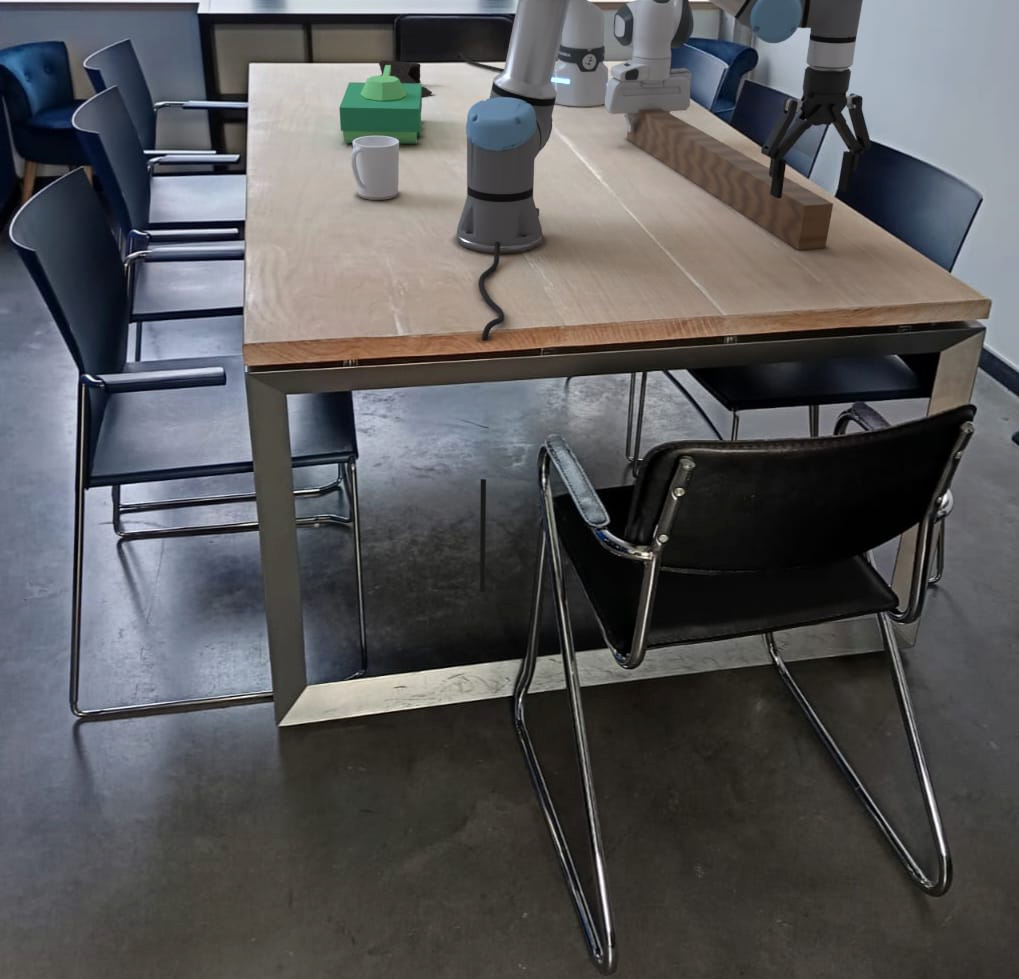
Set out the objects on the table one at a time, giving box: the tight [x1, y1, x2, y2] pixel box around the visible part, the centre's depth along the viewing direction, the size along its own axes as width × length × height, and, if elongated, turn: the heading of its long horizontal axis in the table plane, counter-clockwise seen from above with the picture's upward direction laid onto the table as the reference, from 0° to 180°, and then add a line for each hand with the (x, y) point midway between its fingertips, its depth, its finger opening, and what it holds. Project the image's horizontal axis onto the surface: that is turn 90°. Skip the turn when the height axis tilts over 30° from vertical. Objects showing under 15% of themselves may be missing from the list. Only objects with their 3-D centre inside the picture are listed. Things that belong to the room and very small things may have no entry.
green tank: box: [339, 65, 423, 145], centre depth 261 cm, size 18×12×35 cm
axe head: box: [378, 59, 433, 97], centre depth 299 cm, size 18×8×15 cm
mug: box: [350, 136, 400, 201], centre depth 214 cm, size 11×9×10 cm
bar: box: [626, 109, 834, 251], centre depth 226 cm, size 81×6×8 cm, turn 17°
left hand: (809, 193), depth 194 cm, fingers open, 13 cm apart
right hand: (645, 131), depth 256 cm, fingers closed on bar, 5 cm apart
